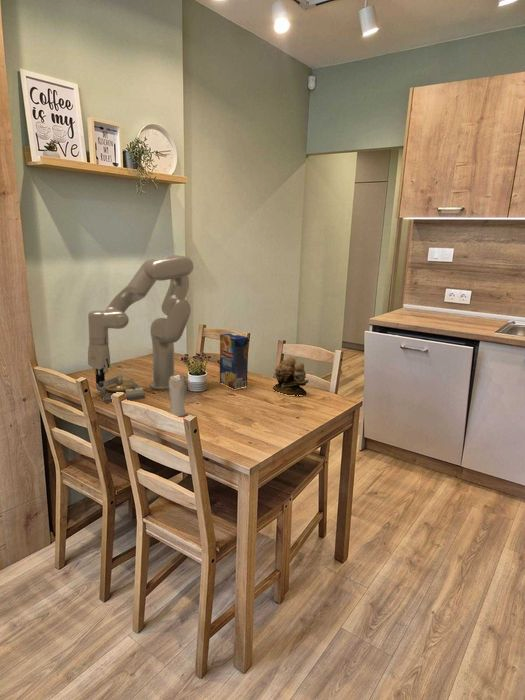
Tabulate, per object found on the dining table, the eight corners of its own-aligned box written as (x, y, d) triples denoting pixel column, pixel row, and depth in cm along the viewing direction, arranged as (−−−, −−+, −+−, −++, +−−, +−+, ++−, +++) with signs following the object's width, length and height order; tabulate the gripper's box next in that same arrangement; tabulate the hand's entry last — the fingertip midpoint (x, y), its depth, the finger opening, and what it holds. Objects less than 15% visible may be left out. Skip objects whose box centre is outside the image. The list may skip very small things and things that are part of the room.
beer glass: (188, 411, 176) (188, 375, 172) (184, 418, 169) (183, 380, 165) (171, 410, 176) (171, 374, 173) (166, 417, 169) (165, 379, 166)
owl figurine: (313, 393, 203) (316, 357, 199) (299, 400, 194) (301, 362, 190) (281, 384, 213) (283, 350, 209) (266, 390, 204) (268, 354, 200)
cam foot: (118, 382, 203) (118, 370, 201) (139, 386, 198) (139, 374, 196) (88, 393, 187) (88, 380, 186) (110, 398, 182) (109, 384, 181)
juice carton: (247, 387, 207) (248, 337, 201) (234, 390, 202) (235, 339, 197) (232, 381, 216) (233, 332, 210) (219, 383, 211) (220, 334, 206)
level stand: (132, 382, 209) (131, 374, 208) (144, 398, 189) (144, 389, 188) (96, 386, 202) (95, 378, 201) (105, 403, 181) (105, 394, 180)
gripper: (80, 339, 185) (82, 381, 189) (100, 345, 176) (102, 389, 180) (97, 336, 191) (98, 377, 195) (117, 342, 182) (118, 385, 186)
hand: (100, 383), depth 188 cm, fingers closed
